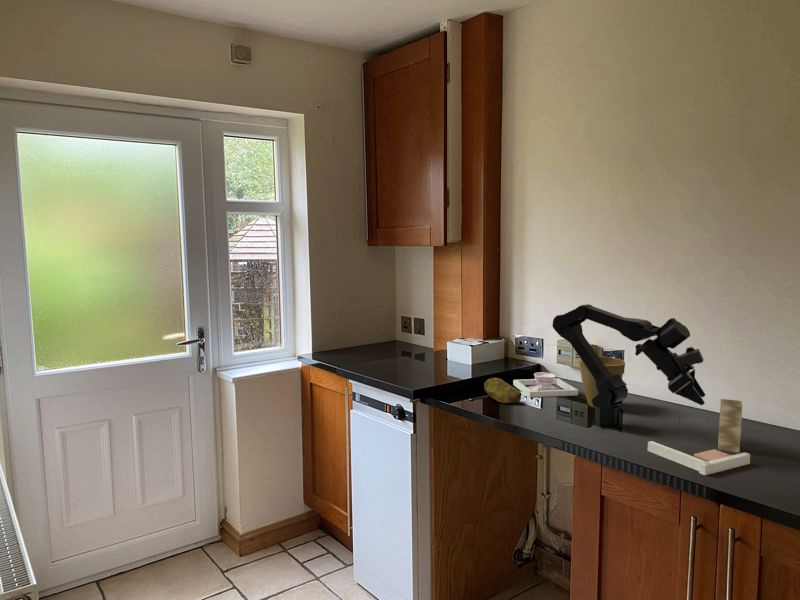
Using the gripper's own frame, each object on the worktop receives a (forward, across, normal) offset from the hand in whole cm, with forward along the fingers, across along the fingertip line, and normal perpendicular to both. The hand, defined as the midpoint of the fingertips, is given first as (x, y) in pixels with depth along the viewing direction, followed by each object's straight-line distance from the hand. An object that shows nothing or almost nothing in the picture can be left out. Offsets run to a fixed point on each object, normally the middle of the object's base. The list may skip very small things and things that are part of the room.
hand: (703, 400), depth 163 cm
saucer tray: (-29, +38, +47) cm, 67 cm away
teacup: (-29, +38, +47) cm, 67 cm away
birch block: (+14, 0, +4) cm, 14 cm away
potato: (-36, +15, +54) cm, 66 cm away
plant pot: (-13, +26, +31) cm, 43 cm away
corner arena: (+8, -12, +10) cm, 17 cm away
